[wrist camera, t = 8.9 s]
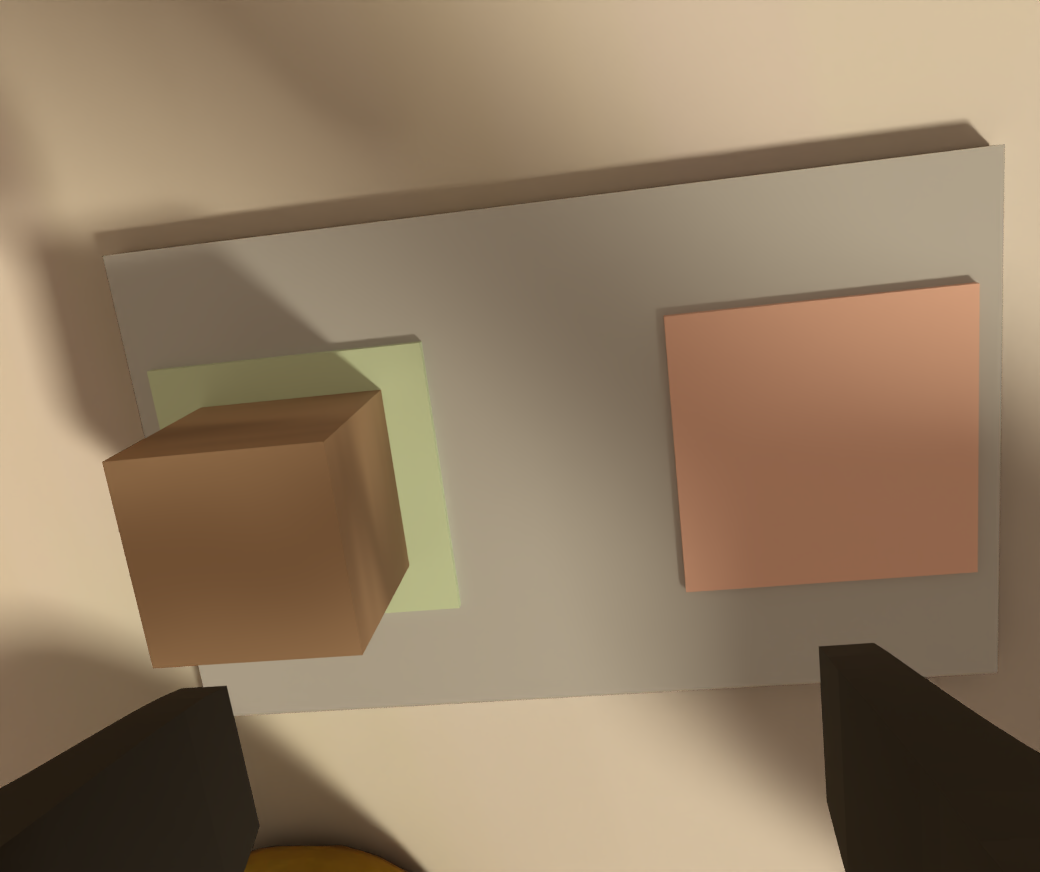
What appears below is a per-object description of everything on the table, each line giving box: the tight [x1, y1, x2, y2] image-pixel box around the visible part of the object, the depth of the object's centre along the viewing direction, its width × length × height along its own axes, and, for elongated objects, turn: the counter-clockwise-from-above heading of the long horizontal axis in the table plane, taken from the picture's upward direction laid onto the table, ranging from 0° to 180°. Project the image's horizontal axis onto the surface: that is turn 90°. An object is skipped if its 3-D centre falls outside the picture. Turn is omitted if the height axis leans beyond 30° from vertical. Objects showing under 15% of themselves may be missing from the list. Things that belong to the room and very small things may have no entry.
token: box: [102, 390, 409, 668], centre depth 18 cm, size 4×4×4 cm
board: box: [103, 144, 1005, 716], centre depth 20 cm, size 18×11×1 cm, turn 97°
